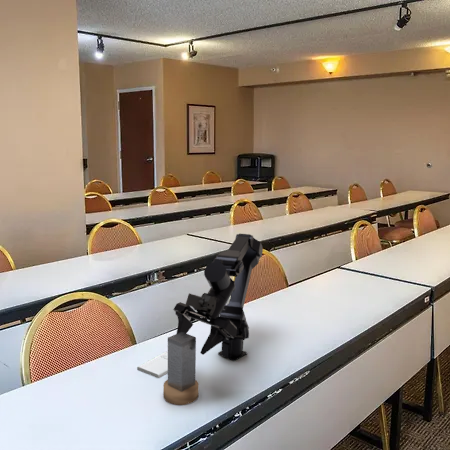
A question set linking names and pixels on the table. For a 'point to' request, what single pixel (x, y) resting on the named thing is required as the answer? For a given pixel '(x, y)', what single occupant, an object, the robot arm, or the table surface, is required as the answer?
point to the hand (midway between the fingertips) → (188, 348)
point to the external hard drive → (156, 366)
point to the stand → (180, 394)
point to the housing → (181, 361)
